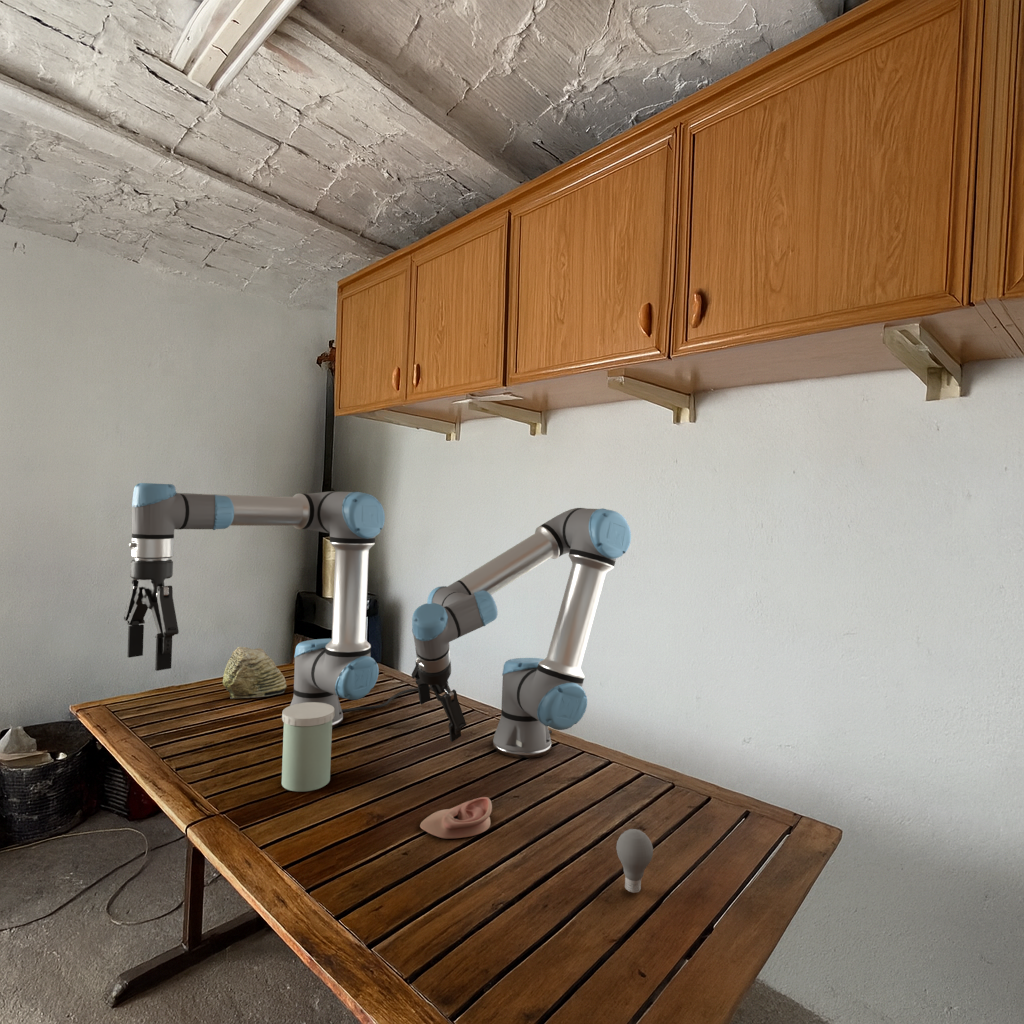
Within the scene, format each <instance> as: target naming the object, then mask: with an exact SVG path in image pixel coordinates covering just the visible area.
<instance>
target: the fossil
mask: <svg viewBox="0 0 1024 1024" xmlns="http://www.w3.org/2000/svg"><path fill="white" fill-rule="evenodd" d="M222 676H223V677H222V685H223V687H224V688H225V690H226V691H228V693H229V698H230V699H250V698H264V697H271V696H275V695H281V694H284V693H285V691H286V689H287V687H288V686H287V680H286V678H285V676H284V674H283V673H282V672H281V669H279V668H278V667H277V665H276V663H275V662H274V660H273V659H272V658H271V657H270V656H269V655H268V654H267V653H266V652H265V650H264V649H263V648H260V647H258V648H251V647H247V646H246V647H245V646H238V647H237V648H236V649H235V650H233V651H232V653H231V656H230V657H229V659H228V660H227V663H226V666H225V668H224V671H223V675H222Z"/></svg>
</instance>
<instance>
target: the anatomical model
mask: <svg viewBox="0 0 1024 1024" xmlns="http://www.w3.org/2000/svg"><path fill="white" fill-rule="evenodd" d="M492 804H493V803H492V800H491V799H490V798H489V797H487V796H482V797H478V798H474V799H471V800H467V801H465V802H463V803H460V804H459V805H458V804H457V805H456V806H454V807H451V808H446V809H441V810H437V811H435V812H433V813H431V814H430V815H428V816H427V817H426V818H424V819H423V820H422V821H421V822H420V824H419V827H420V829H421V830H423V831H424V832H425V833H428V834H430V835H432V836H434V837H437V838H441V839H446V840H448V839H451V840H453V839H461V838H462V839H463V838H468V837H469V838H470V837H473V836H477V835H480V834H482V833H484V832H486V831H488V829H490V827H491V817H490V816H491V814H492V811H493V805H492Z"/></svg>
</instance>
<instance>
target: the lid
mask: <svg viewBox="0 0 1024 1024" xmlns="http://www.w3.org/2000/svg"><path fill="white" fill-rule="evenodd" d="M334 716H335V711H334V707H333V706H332V705H329V704H326V703H319V702H307V703H299V704H294V705H291V706H290V705H289V706H286V707H285V708H283V710H282V715H281V721H282V722H283V724H284V723H286V724H288V725H292V726H303V727H304V726H316V725H321V724H324V723H327V722H329V721H331V720H332V719H333V718H334Z"/></svg>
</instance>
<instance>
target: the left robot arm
mask: <svg viewBox="0 0 1024 1024" xmlns="http://www.w3.org/2000/svg"><path fill="white" fill-rule="evenodd" d="M385 515H386V513H385V511H384V508H383V505H382V503H381V502H380V501H379V500H378V498H377V497H375V495H373V494H370V493H367V492H363V491H362V492H361V491H337V490H336V491H335V490H333V491H332V490H330V491H321V492H311V493H295V494H294V495H293V496H276V495H275V496H274V495H273V496H272V495H248V494H247V495H246V494H244V495H243V494H220V493H219V494H218V493H217V494H216V493H215V494H214V493H189V492H187V493H186V492H177V491H176V486H175V485H174V484H173V483H152V482H139V483H137V484H136V485H135V486H134V488H133V492H132V501H131V520H132V521H131V542H130V543H128V547H129V548H130V549H131V550H130V556H131V558H133V559H132V560H131V561H130V567H129V568H130V571H129V574H130V575H129V576H130V578H131V581H130V590H129V594H128V598H127V603H126V607H125V610H124V615H123V621H124V622H126V624H127V626H128V629H127V630H128V631H127V658H135V657H142V656H144V635H145V634H144V630H145V625H144V624H145V623H146V621H145V619H144V618H145V616H146V615H147V612H148V609H149V610H151V613H152V618H153V620H154V624H155V627H156V631H157V633H156V635H155V636H154V638H155V661H154V663H155V665H154V668H155V669H154V670H155V671H157V672H159V671H164V670H169V669H172V659H173V657H172V655H173V637H175V636H176V635H179V632H180V631H179V625H178V619H177V615H176V614H177V613H176V609H175V603H174V597H173V595H174V593H173V585H165V580H167V579H171V578H172V577H173V575H174V573H173V572H174V561H173V560H172V559H171V558H173V557H174V554H175V553H174V552H175V530H213V531H215V530H224V529H228V528H230V526H233V527H234V526H237V527H238V526H240V527H243V526H246V527H247V526H249V527H250V526H258V527H259V526H268V527H269V526H276V527H277V526H282V527H284V526H285V527H286V526H287V527H288V526H289V527H290V526H291V527H293V528H294V529H296V530H308V531H309V530H310V531H316V532H319V533H325V534H329V544H330V545H331V546H332V547H333V548H334V550H335V551H334V572H333V573H334V577H333V599H332V625H331V626H332V627H331V638H317V639H308V640H304V641H300V642H299V643H297V645H296V646H295V650H294V655H293V657H294V672H293V673H294V674H293V695H292V696H293V697H292V699H291V702H290V704H289V706H291V705H294V704H299V703H307V702H319V703H326V704H329V705H332V706H333V707H334V711H335V716H334V718H333V719H332V730H333V729H335V728H337V727H339V726H340V725H342V723H343V722H344V714H343V713H348V712H357V711H367V710H374V709H380V708H383V707H385V706H387V705H389V704H390V703H391V702H392V701H393V700H394V699H396V698H397V697H399V696H401V695H403V694H406V693H407V694H408V693H412V692H418V687H416V688H415V687H414V688H409V689H408V688H407V689H404V690H402V691H399V692H397V693H395V694H394V695H392V696H391V697H389V698H388V699H387V701H385V702H383V703H381V704H377V705H369V706H368V705H367V706H358V707H351V708H350V707H349V708H342V706H341V702H340V699H339V698H341V699H342V700H343V699H344V700H348V701H349V700H350V701H357V700H360V699H362V698H364V697H365V696H367V695H368V694H370V692H371V690H372V689H374V687H375V685H376V683H377V682H378V678H379V674H380V672H379V671H380V670H379V669H380V668H379V665H378V663H377V662H376V660H375V659H374V657H371V652H372V649H371V648H372V644H371V643H370V642H368V640H367V639H366V631H367V607H368V606H367V605H368V604H367V602H368V582H369V581H368V579H369V555H370V553H369V552H370V550H371V548H372V547H374V545H375V544H376V536H378V535H379V534H380V533H381V530H383V528H384V526H385V522H386V521H385V520H386V516H385ZM429 690H432V689H431V687H430V685H429Z"/></svg>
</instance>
